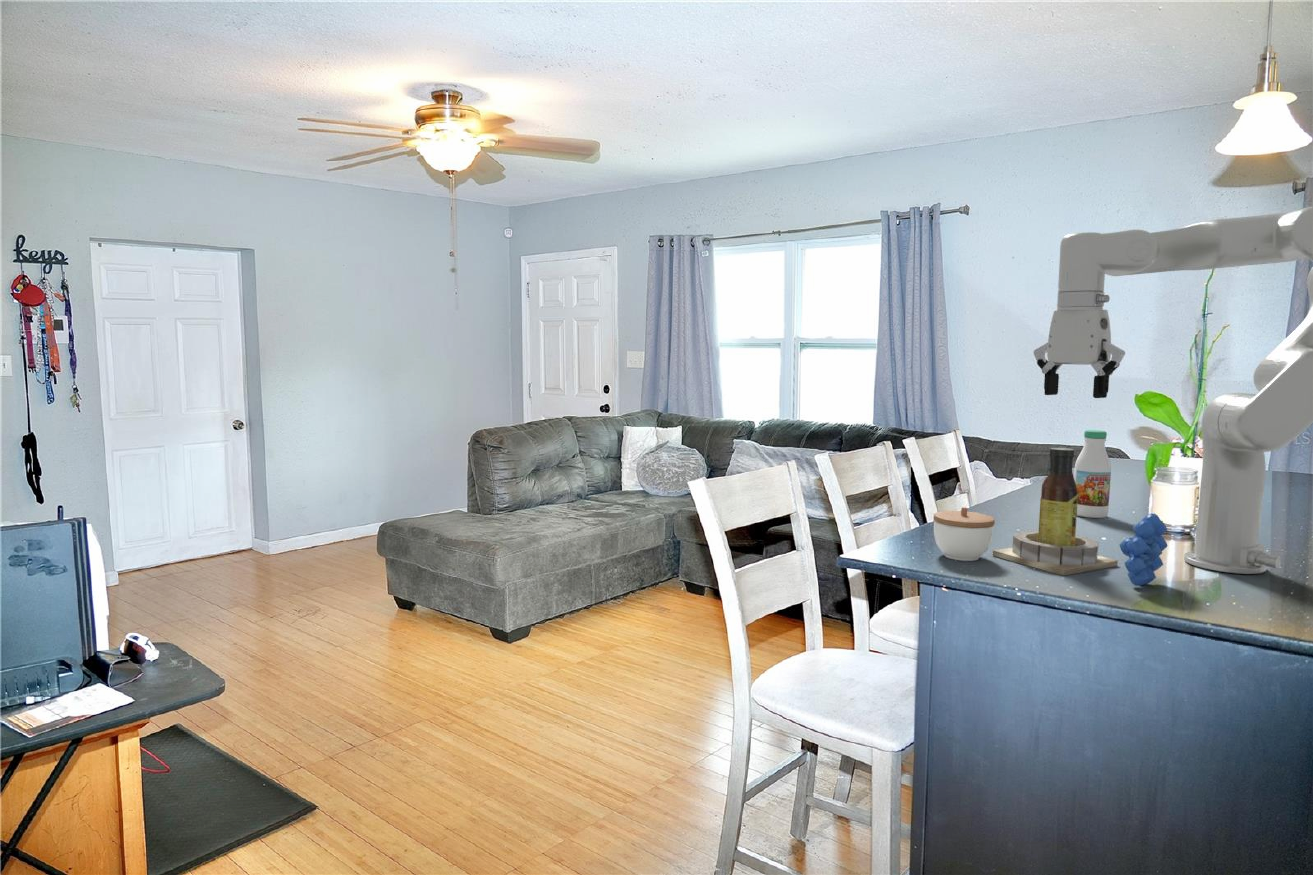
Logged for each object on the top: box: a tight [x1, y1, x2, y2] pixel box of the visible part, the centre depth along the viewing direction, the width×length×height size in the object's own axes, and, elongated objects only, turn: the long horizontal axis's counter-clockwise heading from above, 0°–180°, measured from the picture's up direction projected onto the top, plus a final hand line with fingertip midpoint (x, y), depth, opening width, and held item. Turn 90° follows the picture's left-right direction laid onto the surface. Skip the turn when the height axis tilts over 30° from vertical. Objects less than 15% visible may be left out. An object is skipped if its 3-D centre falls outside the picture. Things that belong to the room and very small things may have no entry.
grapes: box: [1119, 513, 1168, 587], centre depth 143 cm, size 12×7×12 cm, turn 130°
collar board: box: [992, 530, 1119, 577], centre depth 158 cm, size 15×15×4 cm
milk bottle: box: [1073, 429, 1112, 519], centre depth 199 cm, size 8×8×20 cm
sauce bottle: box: [1037, 447, 1078, 546], centre depth 156 cm, size 7×6×20 cm
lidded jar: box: [933, 506, 996, 562], centre depth 159 cm, size 11×11×9 cm
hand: (1074, 396), depth 157 cm, fingers open, 9 cm apart
